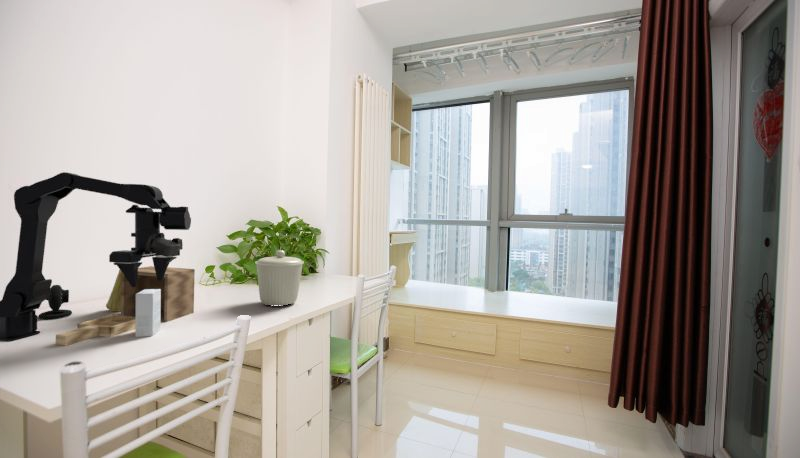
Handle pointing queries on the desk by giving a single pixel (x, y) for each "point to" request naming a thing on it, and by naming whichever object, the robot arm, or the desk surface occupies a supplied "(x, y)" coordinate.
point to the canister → (279, 279)
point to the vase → (115, 295)
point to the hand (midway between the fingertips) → (147, 283)
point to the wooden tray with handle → (97, 329)
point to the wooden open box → (173, 291)
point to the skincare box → (148, 312)
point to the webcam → (56, 304)
